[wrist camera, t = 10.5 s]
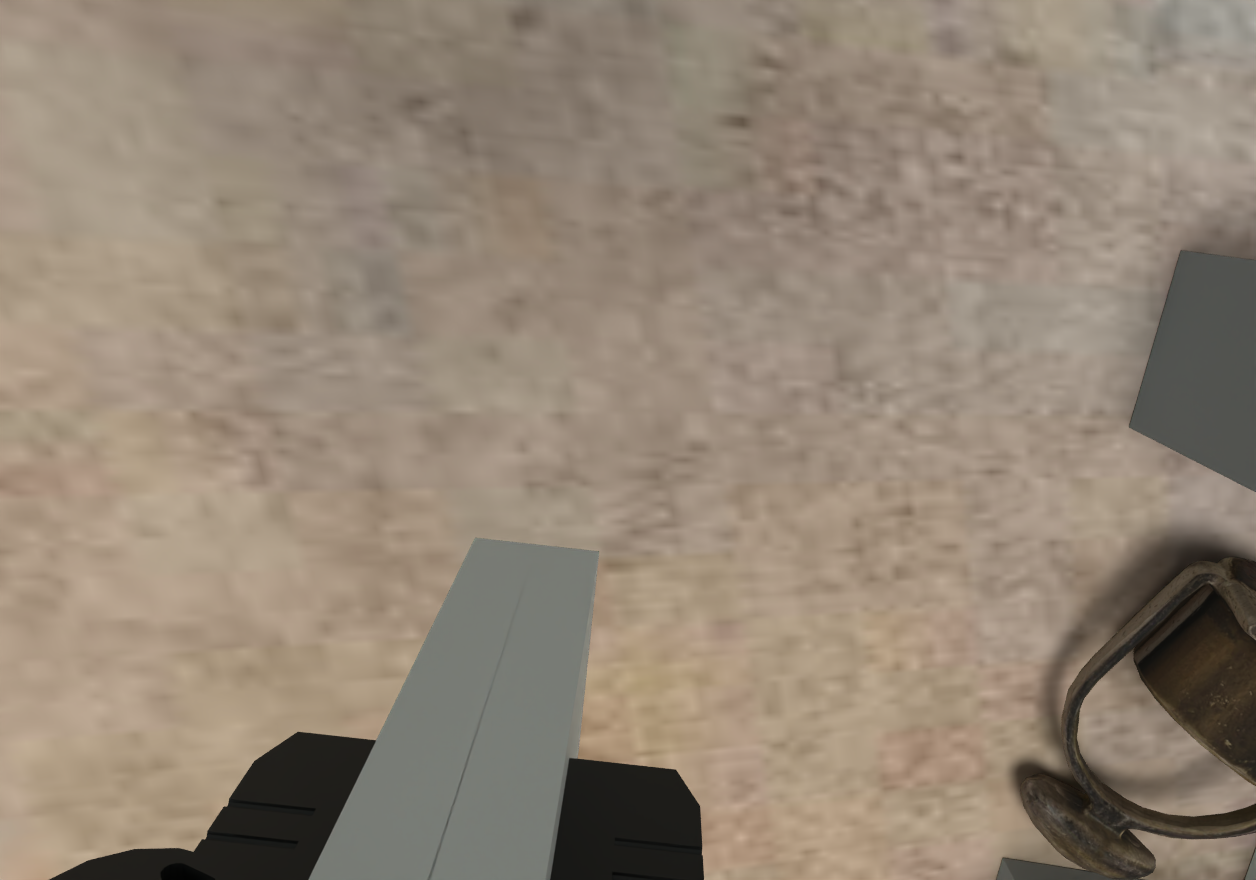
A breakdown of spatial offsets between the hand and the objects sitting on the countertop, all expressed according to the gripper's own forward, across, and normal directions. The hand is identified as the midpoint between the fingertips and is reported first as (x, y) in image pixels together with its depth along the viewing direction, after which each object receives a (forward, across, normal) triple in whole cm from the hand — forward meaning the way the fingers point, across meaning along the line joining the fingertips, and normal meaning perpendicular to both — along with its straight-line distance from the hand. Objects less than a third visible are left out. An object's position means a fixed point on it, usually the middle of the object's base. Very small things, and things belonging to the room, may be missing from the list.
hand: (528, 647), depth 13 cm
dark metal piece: (+22, +17, -10) cm, 30 cm away
